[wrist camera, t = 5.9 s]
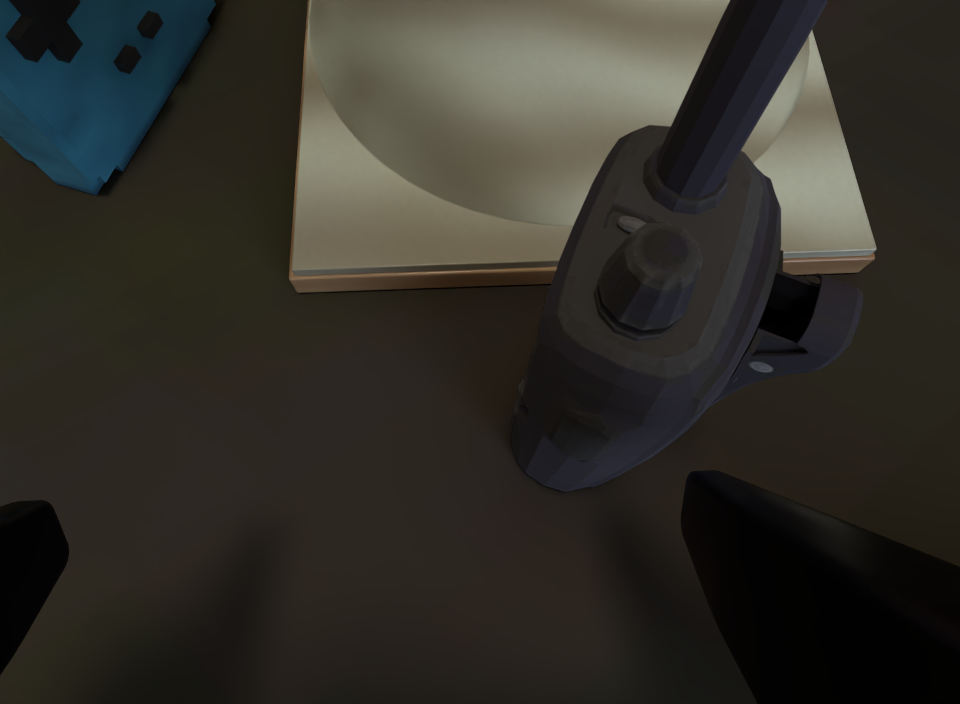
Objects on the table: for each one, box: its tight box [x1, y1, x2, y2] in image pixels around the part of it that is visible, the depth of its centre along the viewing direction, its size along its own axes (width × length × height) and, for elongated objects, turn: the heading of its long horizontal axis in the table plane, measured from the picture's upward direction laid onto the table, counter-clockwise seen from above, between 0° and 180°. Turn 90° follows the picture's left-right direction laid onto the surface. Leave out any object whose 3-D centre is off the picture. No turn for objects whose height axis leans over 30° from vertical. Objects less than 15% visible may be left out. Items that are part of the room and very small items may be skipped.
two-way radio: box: [511, 0, 863, 492], centre depth 11 cm, size 6×4×15 cm
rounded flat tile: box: [289, 0, 876, 293], centre depth 22 cm, size 19×18×1 cm
